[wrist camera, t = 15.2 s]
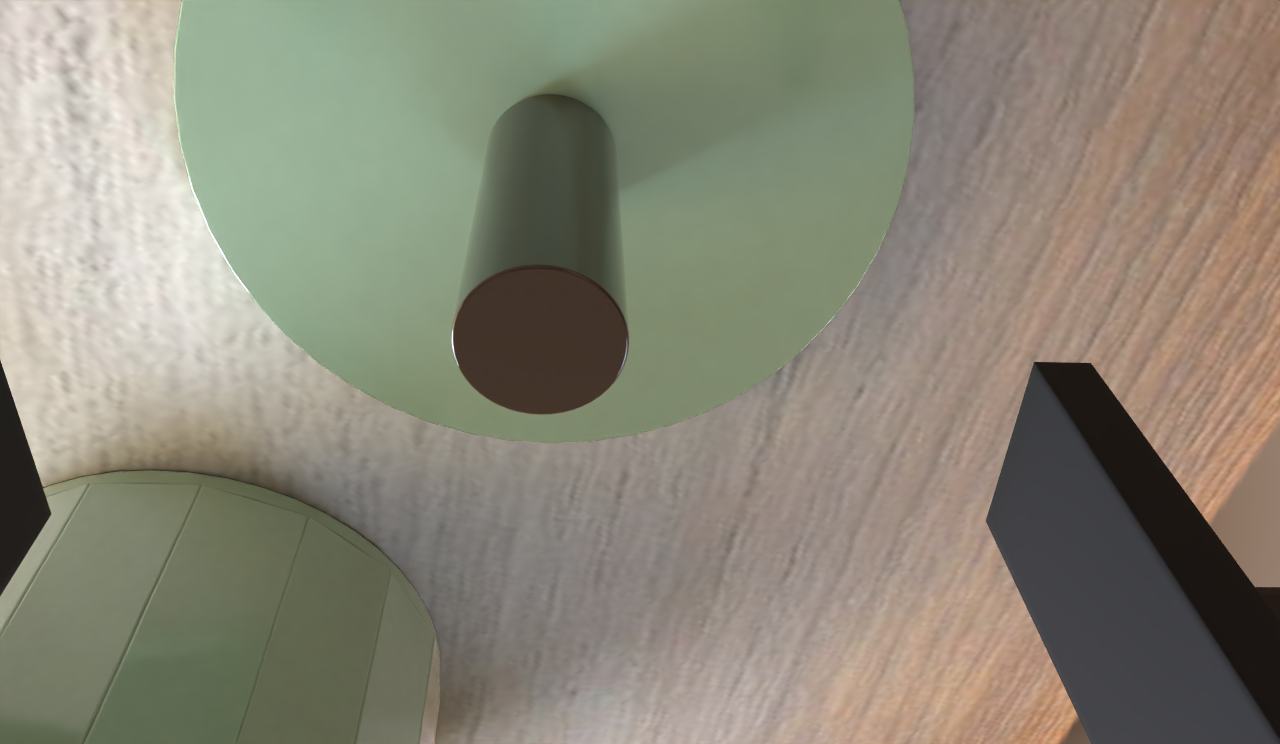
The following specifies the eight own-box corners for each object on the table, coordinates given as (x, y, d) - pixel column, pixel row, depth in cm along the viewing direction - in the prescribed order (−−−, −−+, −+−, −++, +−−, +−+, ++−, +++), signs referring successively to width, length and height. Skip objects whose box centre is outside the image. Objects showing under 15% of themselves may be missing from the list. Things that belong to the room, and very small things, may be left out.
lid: (117, -297, 18) (-170, -265, 11) (971, -248, 19) (1192, -191, 12) (251, 410, 26) (133, 678, 19) (841, 418, 27) (928, 677, 20)
